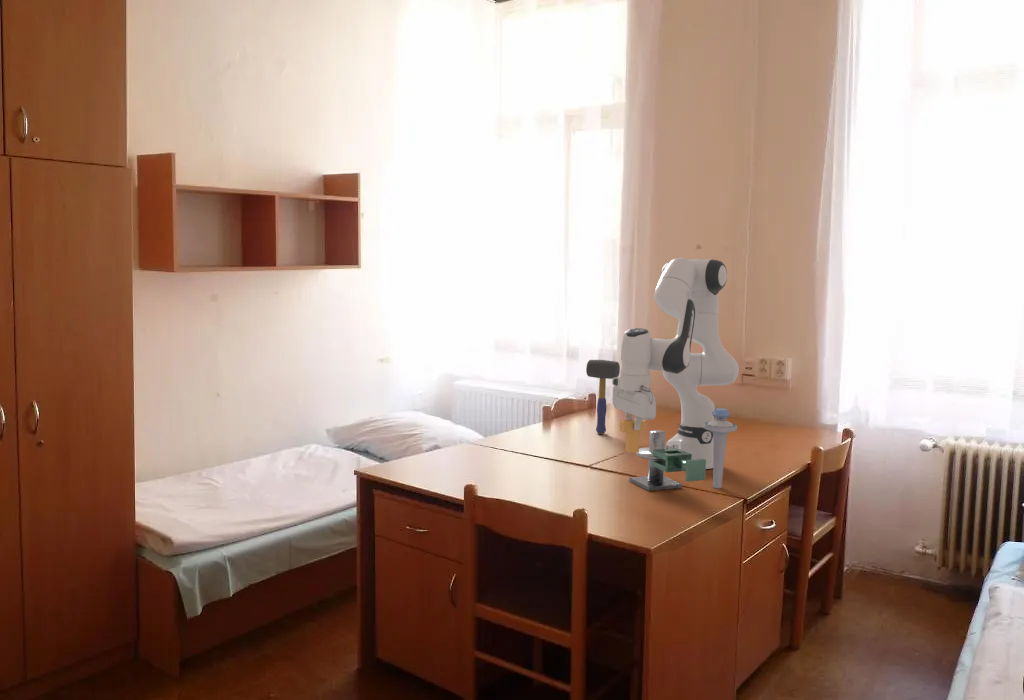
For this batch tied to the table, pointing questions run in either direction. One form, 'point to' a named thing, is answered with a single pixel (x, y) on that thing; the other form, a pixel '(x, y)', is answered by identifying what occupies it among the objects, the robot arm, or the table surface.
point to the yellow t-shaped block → (632, 434)
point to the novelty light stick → (719, 441)
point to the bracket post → (667, 464)
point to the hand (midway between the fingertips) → (633, 428)
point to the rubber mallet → (602, 386)
